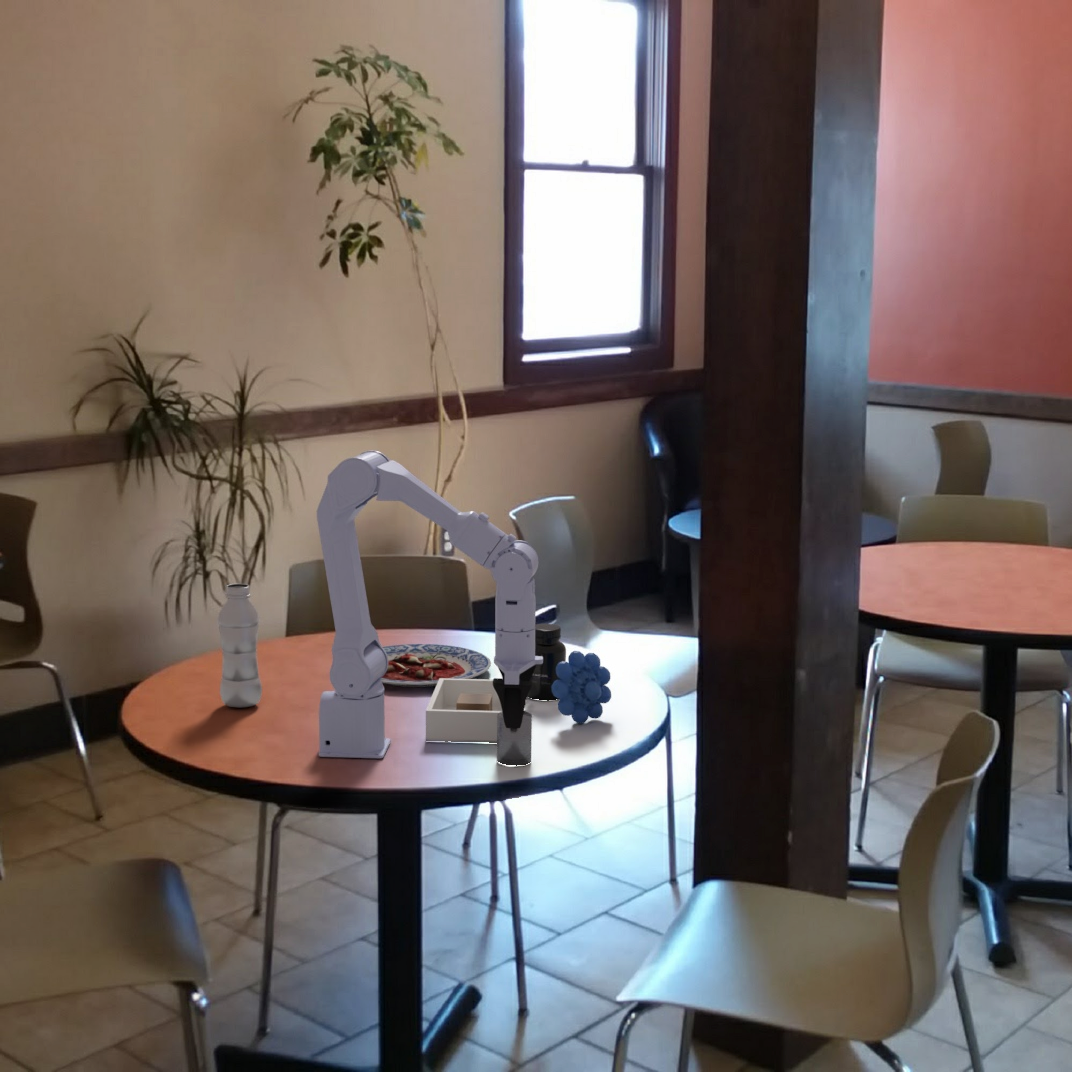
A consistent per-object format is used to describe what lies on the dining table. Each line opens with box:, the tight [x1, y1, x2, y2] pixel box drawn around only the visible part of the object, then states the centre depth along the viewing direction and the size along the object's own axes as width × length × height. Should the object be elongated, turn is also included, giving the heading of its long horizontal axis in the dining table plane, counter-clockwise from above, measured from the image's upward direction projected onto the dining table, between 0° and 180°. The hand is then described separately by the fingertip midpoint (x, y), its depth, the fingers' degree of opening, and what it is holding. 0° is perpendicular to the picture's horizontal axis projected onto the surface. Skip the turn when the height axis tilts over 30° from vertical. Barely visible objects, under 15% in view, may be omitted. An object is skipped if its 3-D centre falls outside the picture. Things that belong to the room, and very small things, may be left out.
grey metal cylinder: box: [496, 710, 533, 766], centre depth 204 cm, size 5×5×7 cm
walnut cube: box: [456, 694, 492, 711], centre depth 216 cm, size 5×5×5 cm
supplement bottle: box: [527, 623, 567, 702], centre depth 236 cm, size 7×7×12 cm
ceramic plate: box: [381, 643, 492, 688], centre depth 250 cm, size 26×26×3 cm
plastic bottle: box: [217, 583, 263, 708], centre depth 228 cm, size 6×7×20 cm
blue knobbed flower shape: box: [552, 650, 612, 724], centre depth 221 cm, size 12×7×12 cm, turn 127°
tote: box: [425, 678, 502, 743], centre depth 220 cm, size 14×18×5 cm
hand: (514, 719), depth 204 cm, fingers open, 7 cm apart
